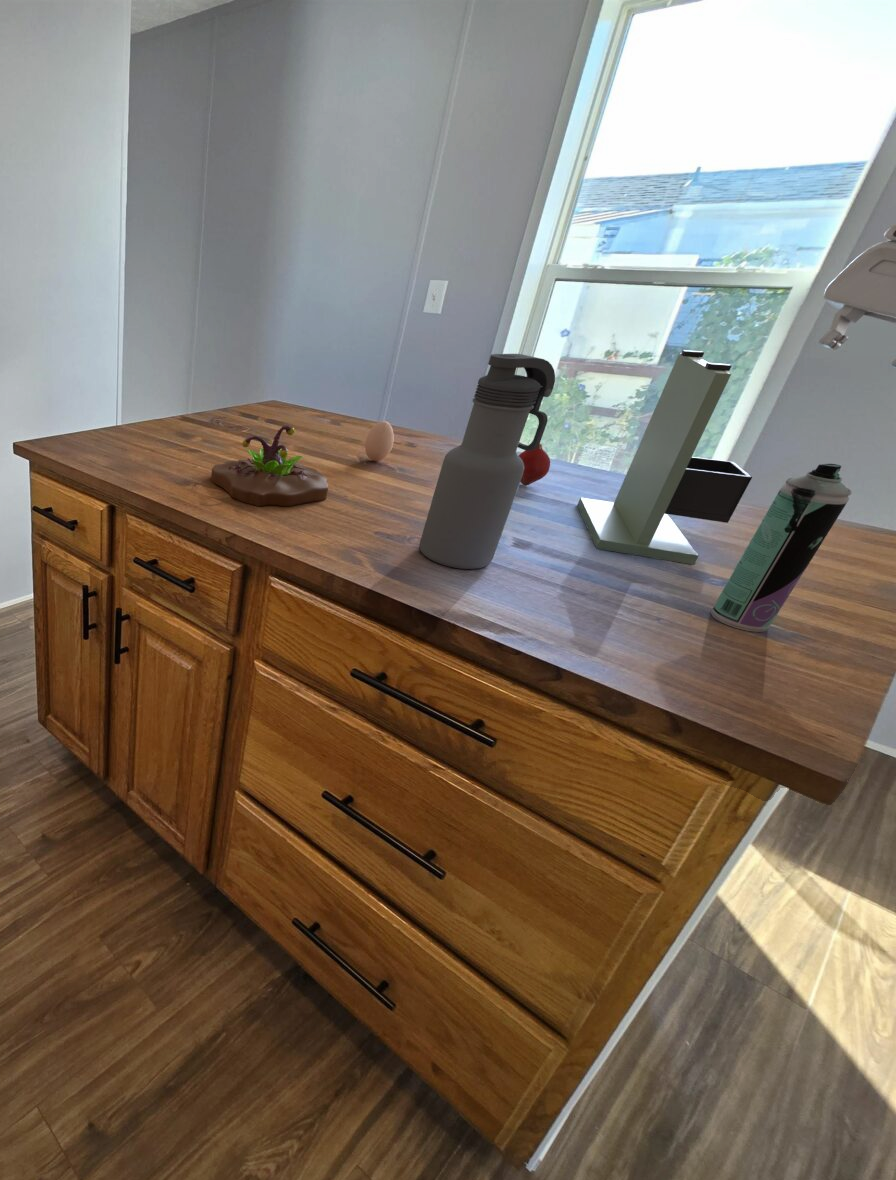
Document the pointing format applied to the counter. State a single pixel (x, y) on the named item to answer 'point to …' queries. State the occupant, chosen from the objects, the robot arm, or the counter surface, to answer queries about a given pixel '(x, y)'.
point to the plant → (270, 476)
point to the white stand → (671, 472)
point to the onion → (534, 465)
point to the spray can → (782, 548)
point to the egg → (379, 441)
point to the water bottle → (486, 464)
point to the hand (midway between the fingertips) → (861, 357)
